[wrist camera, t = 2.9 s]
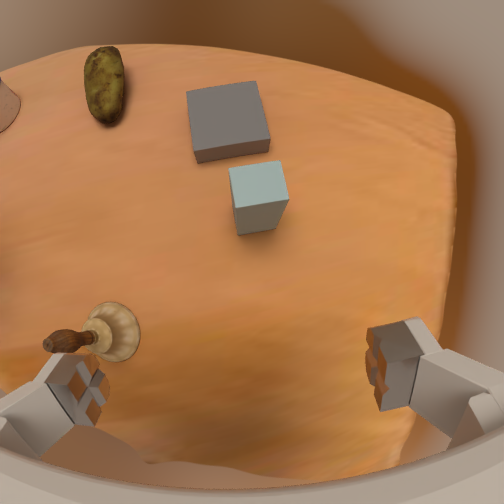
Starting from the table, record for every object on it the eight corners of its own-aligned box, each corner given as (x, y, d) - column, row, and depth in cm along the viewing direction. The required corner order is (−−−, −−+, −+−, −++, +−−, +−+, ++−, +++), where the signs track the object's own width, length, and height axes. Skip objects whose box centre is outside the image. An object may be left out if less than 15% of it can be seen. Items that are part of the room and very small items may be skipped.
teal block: (275, 228, 42) (289, 199, 29) (237, 235, 42) (235, 208, 29) (269, 200, 43) (280, 160, 30) (232, 206, 43) (228, 168, 30)
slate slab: (268, 151, 44) (270, 138, 40) (197, 163, 43) (193, 151, 39) (254, 96, 45) (255, 80, 41) (189, 106, 45) (186, 91, 41)
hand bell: (88, 359, 39) (22, 382, 23) (85, 300, 40) (16, 299, 24) (141, 363, 39) (90, 396, 24) (139, 302, 40) (84, 303, 25)
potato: (78, 129, 44) (56, 104, 36) (102, 69, 46) (87, 41, 38) (121, 128, 44) (103, 101, 36) (143, 66, 46) (132, 36, 38)
